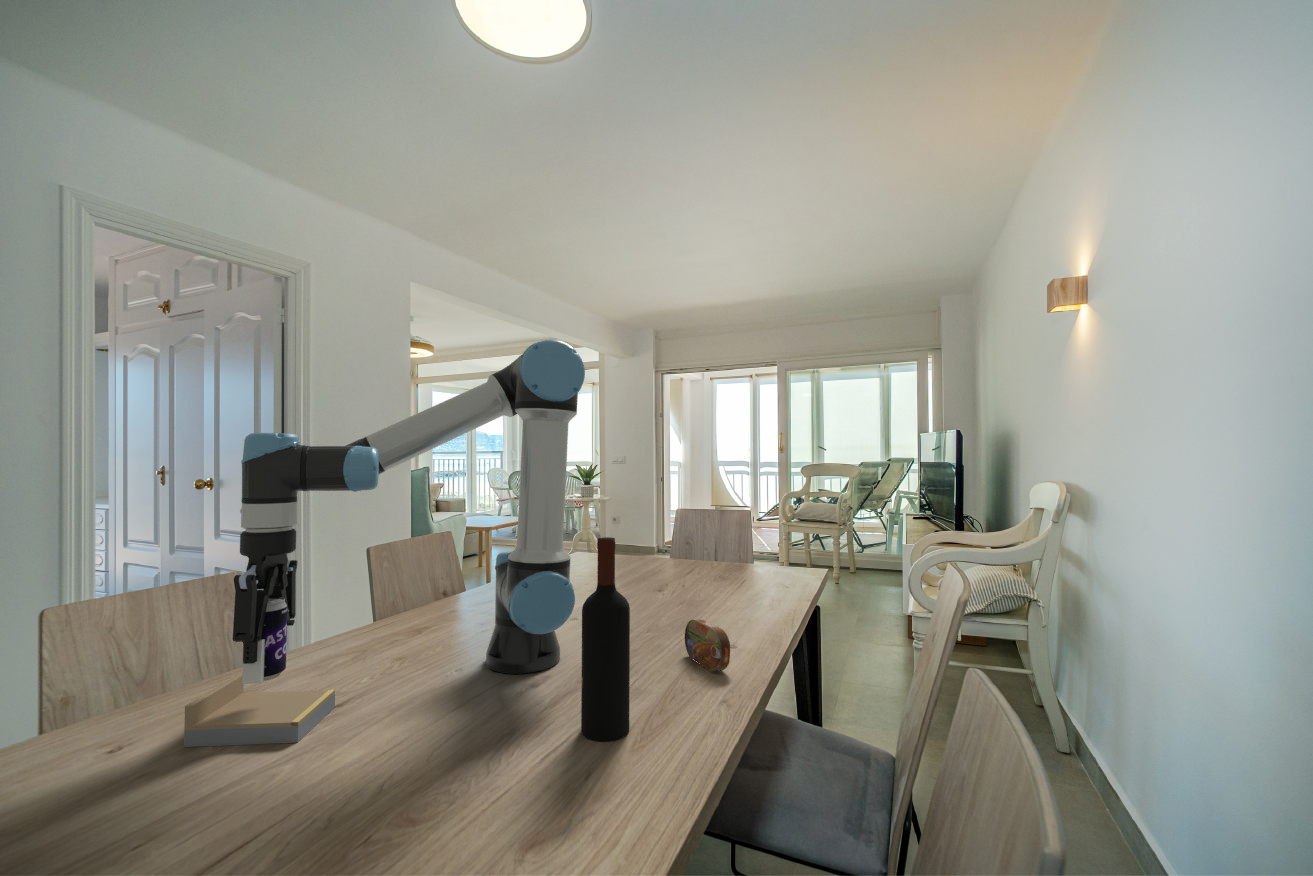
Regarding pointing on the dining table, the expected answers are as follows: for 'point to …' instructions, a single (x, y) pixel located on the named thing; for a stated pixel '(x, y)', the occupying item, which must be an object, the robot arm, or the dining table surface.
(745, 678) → the dining table surface
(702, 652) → the tin
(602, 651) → the wine bottle
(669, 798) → the dining table surface
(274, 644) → the beverage can
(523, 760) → the dining table surface
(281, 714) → the dock
